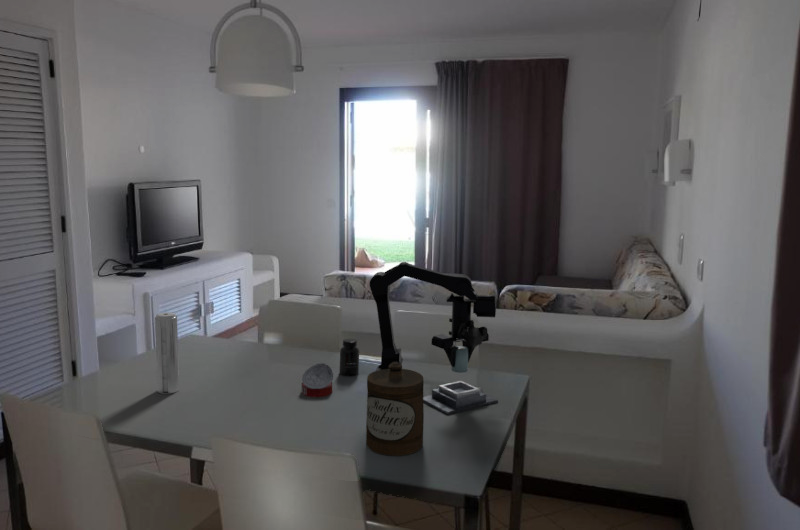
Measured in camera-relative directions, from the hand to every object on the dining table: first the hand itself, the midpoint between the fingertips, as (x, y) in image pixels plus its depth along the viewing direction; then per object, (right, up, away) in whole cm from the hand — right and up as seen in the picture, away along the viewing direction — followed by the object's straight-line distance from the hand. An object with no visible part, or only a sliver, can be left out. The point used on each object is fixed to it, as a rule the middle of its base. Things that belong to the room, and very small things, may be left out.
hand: (459, 365), depth 189 cm
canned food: (-45, -10, +7) cm, 47 cm away
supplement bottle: (-36, -7, +26) cm, 45 cm away
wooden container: (-20, -16, -30) cm, 39 cm away
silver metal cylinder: (-92, -9, +5) cm, 93 cm away
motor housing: (0, -11, +1) cm, 12 cm away
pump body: (0, -2, 0) cm, 2 cm away
